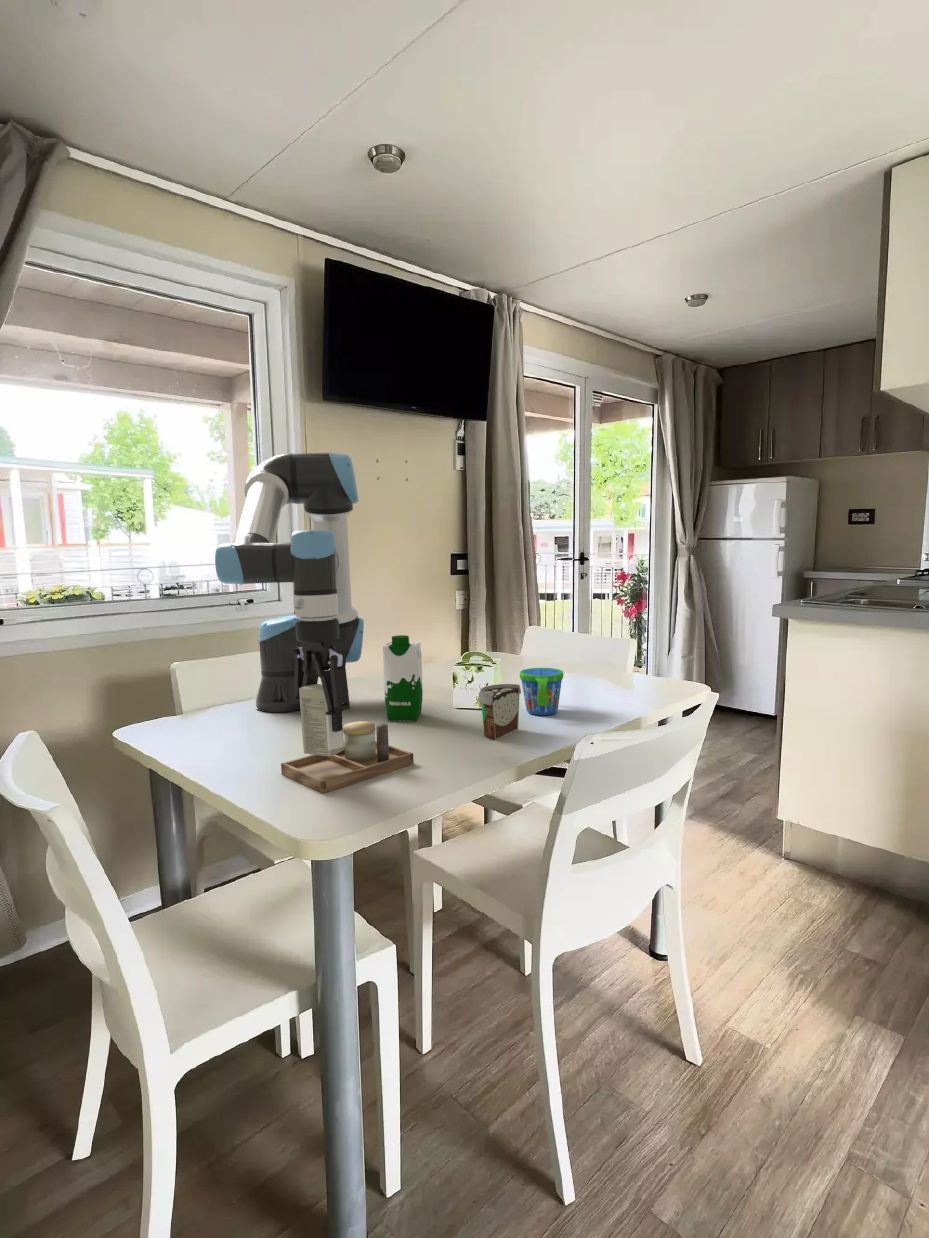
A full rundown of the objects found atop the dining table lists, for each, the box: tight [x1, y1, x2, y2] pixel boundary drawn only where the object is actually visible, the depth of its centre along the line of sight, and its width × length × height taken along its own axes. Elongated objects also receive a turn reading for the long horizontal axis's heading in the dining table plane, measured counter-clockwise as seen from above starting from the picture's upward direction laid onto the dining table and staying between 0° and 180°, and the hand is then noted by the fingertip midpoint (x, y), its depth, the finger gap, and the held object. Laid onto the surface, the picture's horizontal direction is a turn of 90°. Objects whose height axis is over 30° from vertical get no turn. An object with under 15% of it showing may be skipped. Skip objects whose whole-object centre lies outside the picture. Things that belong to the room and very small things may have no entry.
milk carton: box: [382, 634, 424, 722], centre depth 157 cm, size 9×9×20 cm
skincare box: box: [299, 683, 344, 757], centre depth 119 cm, size 6×4×12 cm
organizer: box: [280, 721, 414, 794], centre depth 123 cm, size 14×20×8 cm
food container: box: [477, 683, 522, 741], centre depth 144 cm, size 12×6×10 cm, turn 145°
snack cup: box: [519, 667, 564, 716], centre depth 160 cm, size 16×10×10 cm
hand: (323, 743), depth 119 cm, fingers closed on skincare box, 7 cm apart
